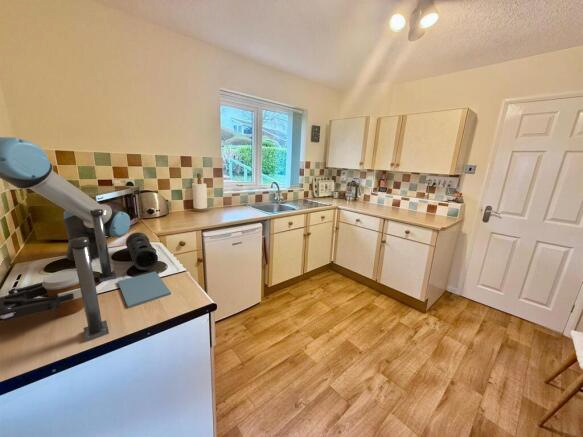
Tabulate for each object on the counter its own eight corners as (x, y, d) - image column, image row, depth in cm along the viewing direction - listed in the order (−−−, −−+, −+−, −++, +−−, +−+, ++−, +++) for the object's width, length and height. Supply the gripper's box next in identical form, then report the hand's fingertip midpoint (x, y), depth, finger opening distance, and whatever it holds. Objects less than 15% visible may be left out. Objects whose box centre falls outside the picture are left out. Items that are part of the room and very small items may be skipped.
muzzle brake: (133, 275, 97) (130, 252, 94) (126, 252, 118) (124, 232, 115) (159, 269, 103) (157, 247, 100) (148, 248, 123) (146, 229, 121)
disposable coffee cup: (55, 324, 68) (46, 287, 65) (45, 311, 73) (36, 276, 70) (95, 307, 76) (89, 274, 73) (83, 297, 81) (77, 265, 78)
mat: (118, 282, 90) (117, 281, 90) (155, 273, 99) (155, 271, 99) (128, 308, 76) (127, 306, 76) (171, 294, 85) (170, 292, 85)
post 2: (98, 277, 94) (87, 209, 87) (114, 273, 97) (104, 208, 90) (100, 282, 90) (88, 212, 83) (116, 278, 94) (105, 210, 87)
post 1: (84, 331, 66) (65, 238, 59) (106, 323, 69) (91, 234, 62) (85, 341, 62) (65, 244, 55) (109, 333, 66) (92, 240, 59)
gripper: (-16, 306, 69) (86, 281, 84) (-37, 350, 54) (91, 311, 69) (-23, 283, 67) (82, 262, 82) (-47, 322, 52) (87, 288, 68)
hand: (86, 284), depth 76 cm, fingers closed on disposable coffee cup, 8 cm apart
